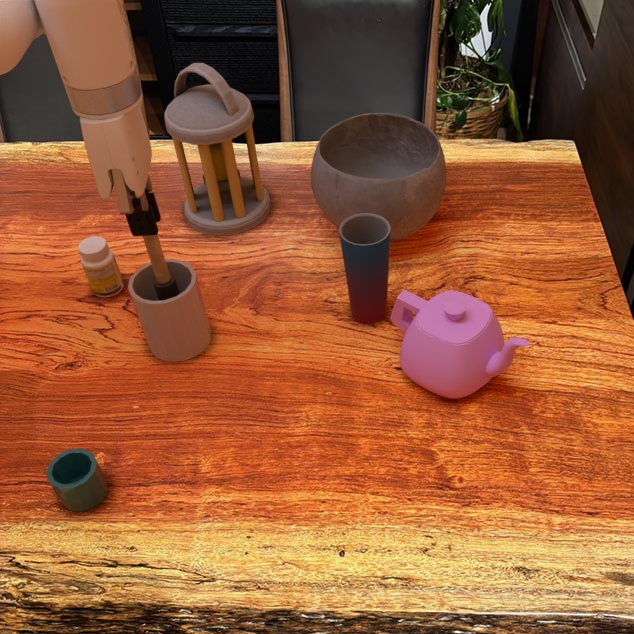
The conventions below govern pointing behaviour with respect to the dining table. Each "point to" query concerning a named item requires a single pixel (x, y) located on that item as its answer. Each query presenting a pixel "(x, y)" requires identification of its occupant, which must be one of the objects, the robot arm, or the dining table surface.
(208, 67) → the lantern
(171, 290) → the wooden handled tool
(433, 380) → the teapot
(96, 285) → the supplement bottle
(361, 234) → the cup
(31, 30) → the robot arm
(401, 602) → the dining table surface
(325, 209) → the bowl
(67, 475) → the holder
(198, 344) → the grey pencil pot
